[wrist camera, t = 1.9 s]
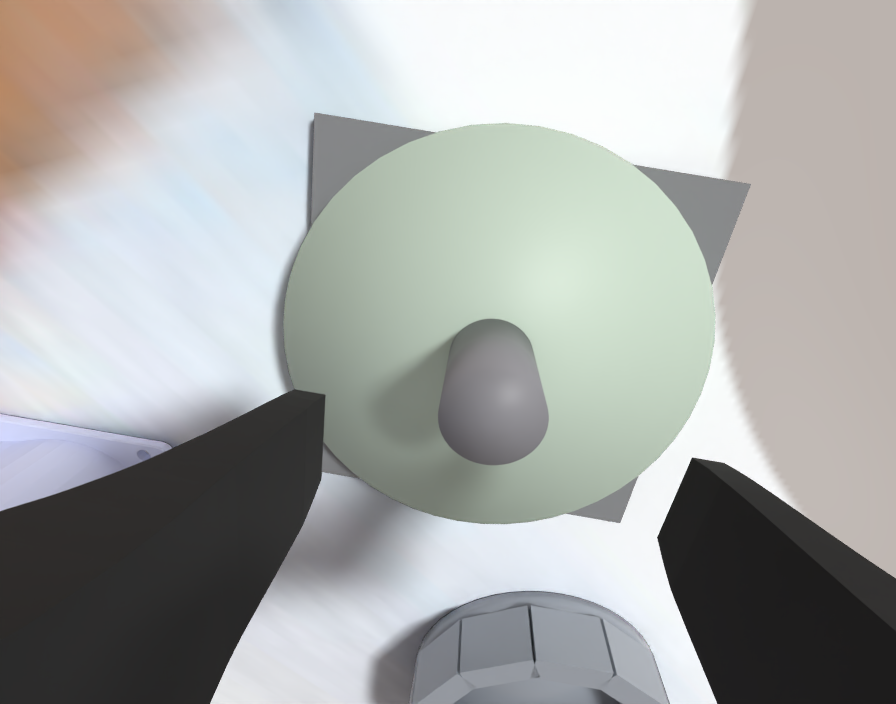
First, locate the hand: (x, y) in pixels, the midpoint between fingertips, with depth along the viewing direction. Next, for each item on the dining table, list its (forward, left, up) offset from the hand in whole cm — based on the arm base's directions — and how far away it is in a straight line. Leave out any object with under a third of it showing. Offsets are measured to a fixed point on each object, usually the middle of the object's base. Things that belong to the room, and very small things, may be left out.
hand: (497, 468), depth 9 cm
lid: (0, 0, -6) cm, 6 cm away
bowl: (+5, -16, -7) cm, 18 cm away
